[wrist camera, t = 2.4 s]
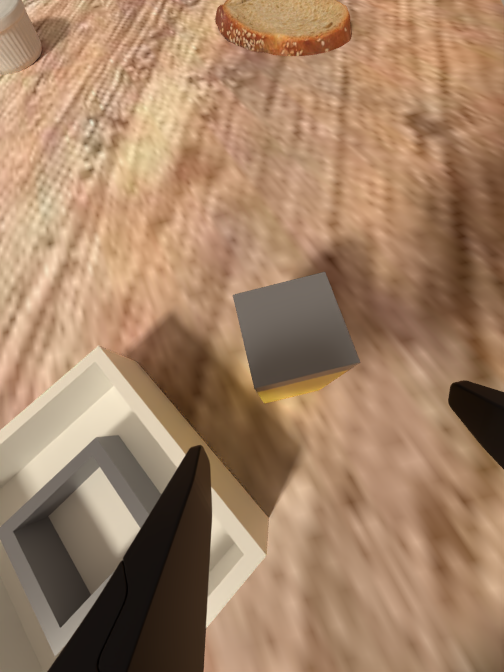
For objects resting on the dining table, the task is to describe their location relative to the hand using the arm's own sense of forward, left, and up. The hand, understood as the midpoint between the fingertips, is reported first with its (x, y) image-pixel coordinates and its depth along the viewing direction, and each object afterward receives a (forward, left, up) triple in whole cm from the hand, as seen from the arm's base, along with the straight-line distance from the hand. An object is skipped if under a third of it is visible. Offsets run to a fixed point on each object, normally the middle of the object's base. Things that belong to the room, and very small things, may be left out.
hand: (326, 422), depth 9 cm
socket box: (+7, +13, -11) cm, 19 cm away
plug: (+3, -3, -11) cm, 12 cm away
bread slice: (+33, -45, -11) cm, 57 cm away
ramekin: (+68, -20, -11) cm, 72 cm away
